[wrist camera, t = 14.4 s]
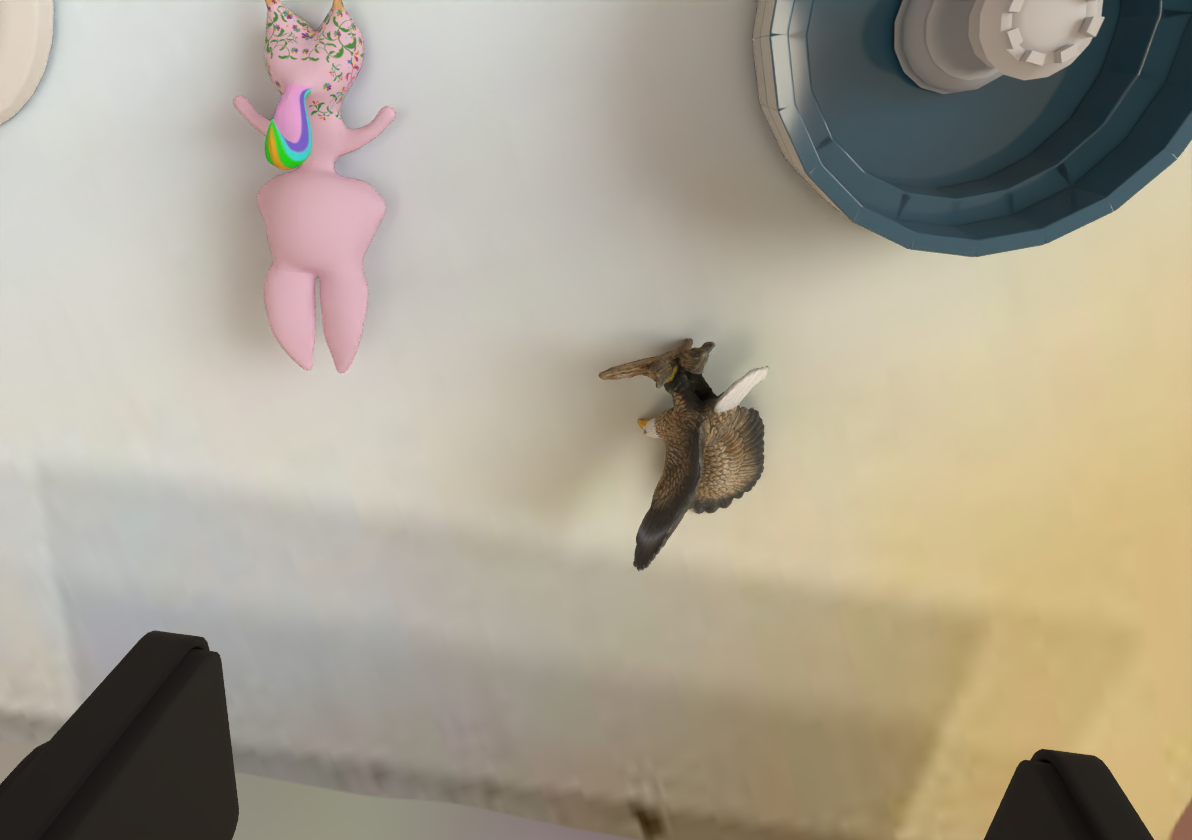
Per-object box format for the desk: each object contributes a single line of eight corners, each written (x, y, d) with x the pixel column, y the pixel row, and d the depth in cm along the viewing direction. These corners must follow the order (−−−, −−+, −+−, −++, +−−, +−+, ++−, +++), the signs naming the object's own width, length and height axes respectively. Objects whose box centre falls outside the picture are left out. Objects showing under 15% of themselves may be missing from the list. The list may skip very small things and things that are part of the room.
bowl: (722, 202, 32) (734, 228, 27) (796, -236, 26) (830, -306, 21) (1074, 245, 32) (1152, 279, 27) (1230, -188, 26) (1368, -248, 21)
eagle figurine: (557, 366, 34) (599, 557, 36) (637, 375, 28) (683, 607, 30) (702, 326, 37) (733, 504, 39) (804, 326, 31) (836, 539, 33)
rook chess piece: (865, 58, 29) (934, 57, 22) (939, -71, 27) (1042, -119, 20) (967, 115, 29) (1069, 133, 22) (1047, -8, 28) (1185, -32, 20)
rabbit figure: (256, -17, 31) (270, 358, 35) (168, -68, 25) (196, 387, 29) (413, -7, 31) (409, 369, 35) (360, -56, 25) (362, 402, 29)
